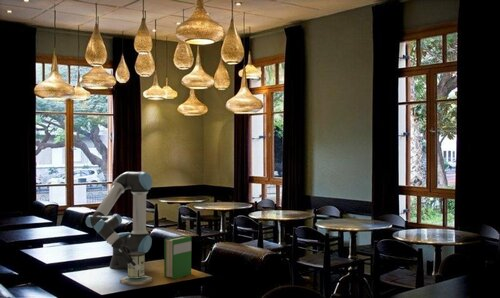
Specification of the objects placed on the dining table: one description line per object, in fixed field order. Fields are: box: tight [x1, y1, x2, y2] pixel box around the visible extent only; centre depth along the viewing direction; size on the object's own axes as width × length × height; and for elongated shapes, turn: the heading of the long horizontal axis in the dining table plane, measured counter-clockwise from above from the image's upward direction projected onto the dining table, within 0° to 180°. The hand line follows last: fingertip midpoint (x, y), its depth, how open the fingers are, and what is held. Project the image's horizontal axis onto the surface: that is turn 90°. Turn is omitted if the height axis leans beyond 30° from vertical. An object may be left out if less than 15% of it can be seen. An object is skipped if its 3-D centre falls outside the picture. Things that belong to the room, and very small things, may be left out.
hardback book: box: [163, 235, 192, 280], centre depth 352 cm, size 18×7×24 cm, turn 148°
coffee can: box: [127, 252, 146, 278], centre depth 337 cm, size 10×10×14 cm
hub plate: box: [119, 275, 153, 286], centre depth 337 cm, size 19×19×2 cm
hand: (141, 267), depth 337 cm, fingers closed on coffee can, 10 cm apart
